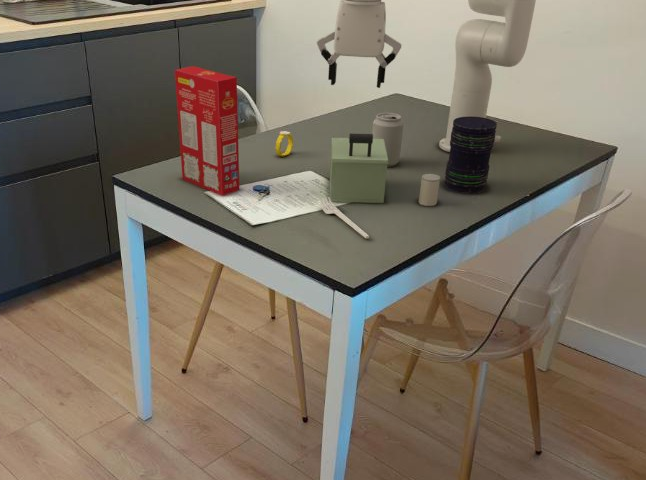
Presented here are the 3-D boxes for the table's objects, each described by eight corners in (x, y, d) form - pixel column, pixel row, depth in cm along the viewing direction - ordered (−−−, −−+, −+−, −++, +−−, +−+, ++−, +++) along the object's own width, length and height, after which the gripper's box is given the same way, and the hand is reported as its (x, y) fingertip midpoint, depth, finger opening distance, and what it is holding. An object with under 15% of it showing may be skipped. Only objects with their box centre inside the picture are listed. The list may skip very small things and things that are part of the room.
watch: (281, 159, 182) (282, 136, 178) (273, 157, 183) (273, 134, 179) (295, 153, 186) (295, 130, 182) (286, 151, 187) (286, 128, 183)
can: (398, 169, 176) (403, 120, 169) (368, 166, 177) (372, 118, 170) (400, 159, 182) (405, 112, 175) (371, 157, 183) (375, 110, 176)
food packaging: (239, 189, 164) (236, 77, 150) (222, 195, 161) (217, 81, 146) (199, 173, 172) (193, 66, 158) (182, 179, 169) (174, 69, 155)
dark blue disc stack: (435, 182, 169) (444, 118, 160) (469, 176, 172) (479, 114, 163) (459, 196, 161) (470, 131, 153) (494, 190, 164) (506, 126, 156)
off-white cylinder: (435, 199, 160) (439, 174, 156) (437, 206, 156) (441, 180, 153) (417, 199, 160) (420, 173, 156) (419, 205, 156) (422, 179, 153)
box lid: (387, 163, 152) (390, 137, 148) (331, 162, 152) (333, 136, 149) (383, 142, 164) (385, 117, 161) (331, 140, 164) (332, 116, 161)
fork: (360, 241, 141) (361, 232, 140) (316, 205, 156) (316, 197, 155) (374, 238, 142) (375, 230, 141) (329, 203, 157) (330, 195, 156)
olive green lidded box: (383, 203, 158) (387, 162, 152) (329, 201, 158) (331, 161, 153) (379, 180, 169) (383, 142, 164) (329, 179, 170) (331, 141, 164)
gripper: (407, -6, 140) (397, 83, 150) (321, -10, 143) (317, 78, 152) (406, -2, 134) (396, 91, 144) (316, -5, 137) (312, 86, 146)
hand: (355, 85), depth 148 cm, fingers open, 9 cm apart
